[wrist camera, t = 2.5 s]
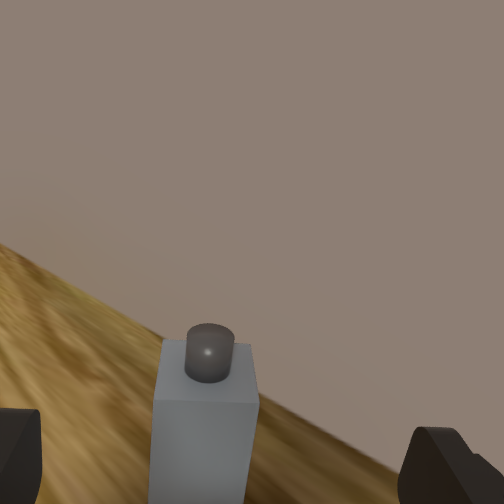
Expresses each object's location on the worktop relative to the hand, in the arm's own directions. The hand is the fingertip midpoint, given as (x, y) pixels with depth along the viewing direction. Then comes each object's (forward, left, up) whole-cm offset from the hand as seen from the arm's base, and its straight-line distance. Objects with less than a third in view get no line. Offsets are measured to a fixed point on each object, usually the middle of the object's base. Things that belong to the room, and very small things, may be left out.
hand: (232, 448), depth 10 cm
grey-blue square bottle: (0, -12, -19) cm, 23 cm away
